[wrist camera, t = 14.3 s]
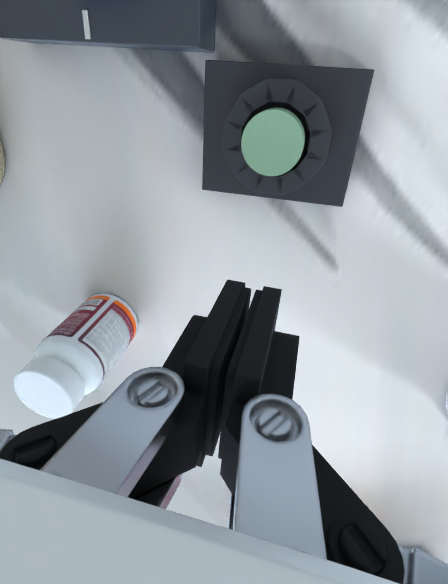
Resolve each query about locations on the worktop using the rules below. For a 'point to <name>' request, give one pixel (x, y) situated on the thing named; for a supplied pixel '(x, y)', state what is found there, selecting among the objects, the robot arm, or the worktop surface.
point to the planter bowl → (1, 163)
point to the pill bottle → (76, 356)
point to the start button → (273, 141)
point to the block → (299, 100)
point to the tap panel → (112, 23)
